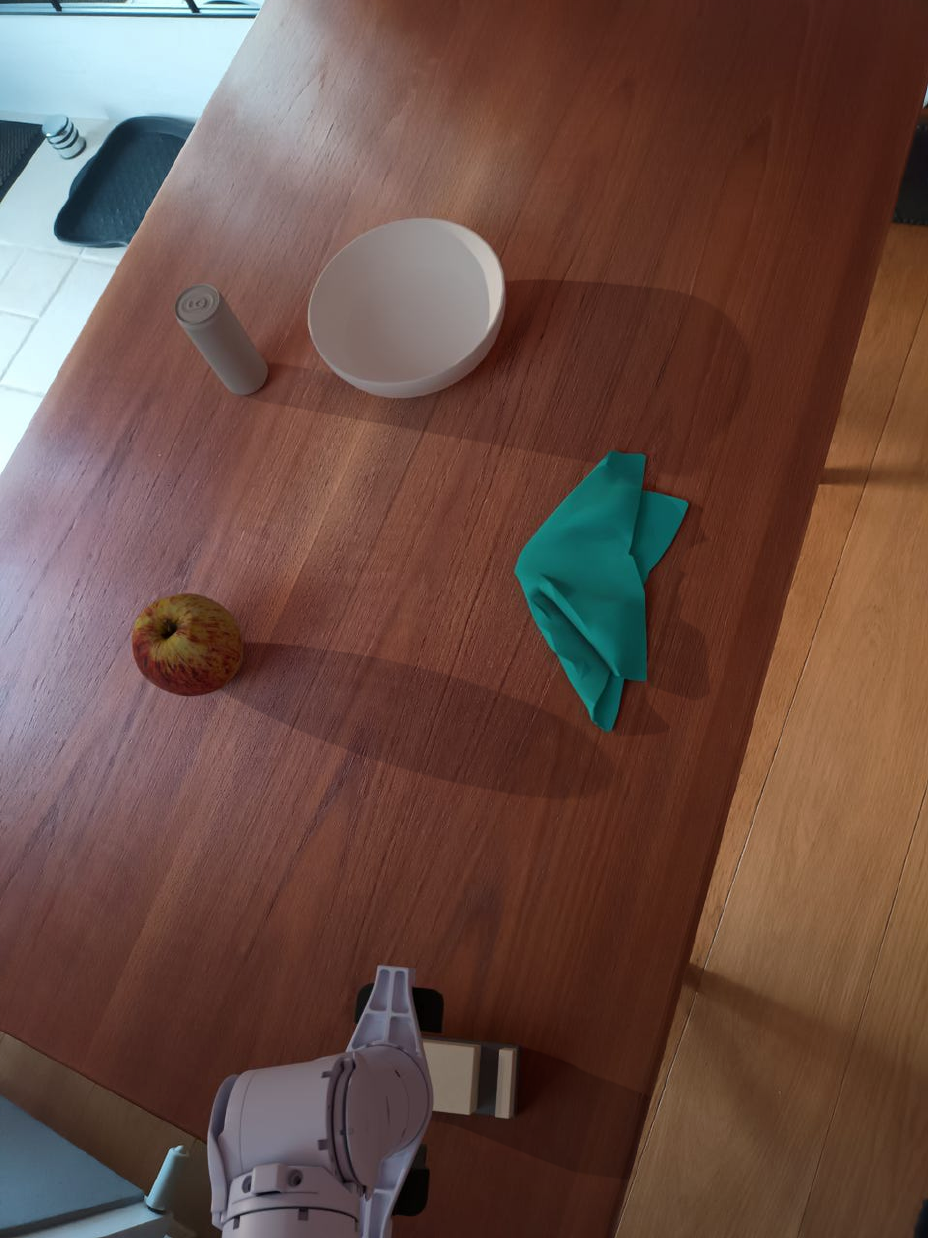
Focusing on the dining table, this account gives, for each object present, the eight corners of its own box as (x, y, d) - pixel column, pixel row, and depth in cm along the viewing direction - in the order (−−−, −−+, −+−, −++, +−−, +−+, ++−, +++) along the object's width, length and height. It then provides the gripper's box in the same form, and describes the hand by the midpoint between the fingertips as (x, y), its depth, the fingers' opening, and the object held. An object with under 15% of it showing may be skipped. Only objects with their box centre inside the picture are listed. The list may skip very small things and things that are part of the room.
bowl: (530, 393, 92) (521, 355, 86) (337, 441, 94) (316, 406, 89) (497, 239, 99) (487, 195, 94) (319, 287, 102) (299, 246, 96)
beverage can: (267, 395, 98) (217, 321, 87) (223, 400, 99) (169, 327, 88) (272, 356, 100) (223, 278, 89) (228, 361, 101) (175, 284, 90)
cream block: (520, 1045, 72) (513, 1048, 68) (516, 1116, 70) (508, 1123, 67) (381, 1030, 74) (366, 1033, 71) (373, 1098, 73) (358, 1105, 69)
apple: (151, 689, 89) (92, 655, 79) (197, 604, 91) (145, 561, 82) (231, 724, 86) (180, 693, 77) (277, 635, 88) (232, 594, 79)
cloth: (558, 439, 90) (555, 426, 88) (704, 465, 86) (705, 452, 84) (474, 697, 82) (469, 690, 80) (630, 739, 78) (630, 732, 76)
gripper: (306, 959, 54) (372, 963, 67) (267, 1254, 50) (346, 1199, 62) (426, 970, 53) (470, 972, 65) (398, 1275, 48) (452, 1215, 61)
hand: (417, 1083), depth 64 cm, fingers open, 7 cm apart
